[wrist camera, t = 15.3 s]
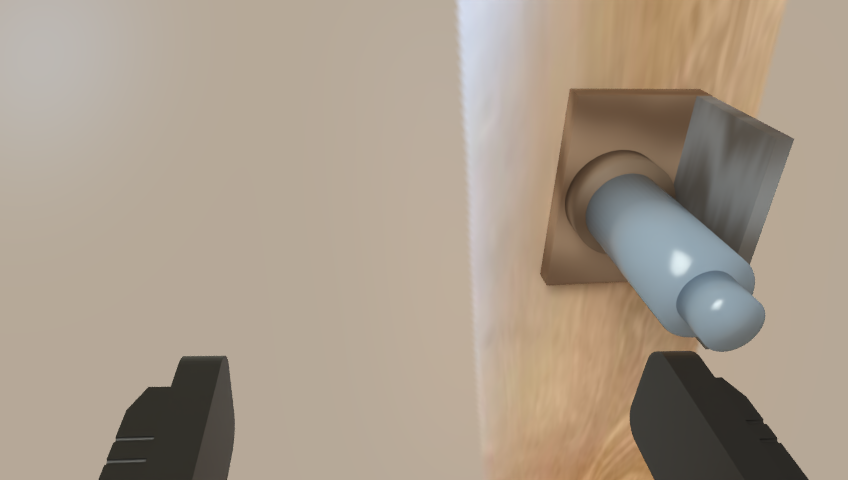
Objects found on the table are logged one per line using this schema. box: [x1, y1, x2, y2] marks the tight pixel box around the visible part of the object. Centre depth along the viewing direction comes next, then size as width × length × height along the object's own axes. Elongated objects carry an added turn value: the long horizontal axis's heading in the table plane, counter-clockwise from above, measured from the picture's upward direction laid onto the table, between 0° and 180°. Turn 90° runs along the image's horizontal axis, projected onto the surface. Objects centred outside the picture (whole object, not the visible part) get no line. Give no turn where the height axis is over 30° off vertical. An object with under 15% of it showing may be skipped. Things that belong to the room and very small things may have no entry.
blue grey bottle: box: [586, 173, 765, 352], centre depth 35 cm, size 5×5×12 cm
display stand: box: [540, 89, 794, 349], centre depth 39 cm, size 14×9×10 cm, turn 178°
